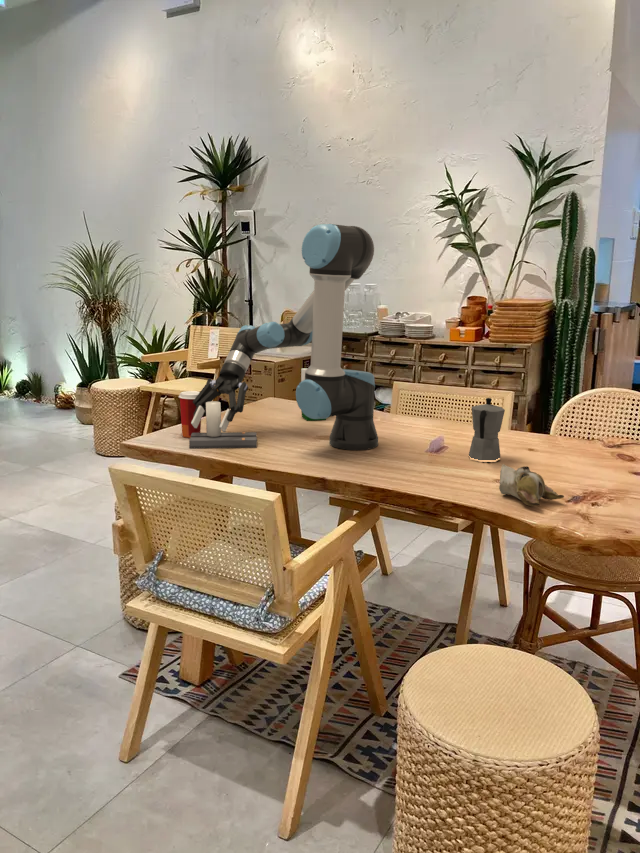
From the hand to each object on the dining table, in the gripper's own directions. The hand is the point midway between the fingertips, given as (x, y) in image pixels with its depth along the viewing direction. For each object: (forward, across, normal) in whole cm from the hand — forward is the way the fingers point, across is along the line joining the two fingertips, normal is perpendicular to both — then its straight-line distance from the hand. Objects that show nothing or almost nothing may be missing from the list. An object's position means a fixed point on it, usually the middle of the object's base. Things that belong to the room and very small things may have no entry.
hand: (207, 427), depth 203 cm
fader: (+2, 0, -6) cm, 7 cm away
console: (+1, -3, -7) cm, 8 cm away
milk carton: (-31, -12, -40) cm, 52 cm away
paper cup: (-2, +12, -10) cm, 16 cm away
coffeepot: (-13, -78, -21) cm, 82 cm away
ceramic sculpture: (+9, -94, 0) cm, 94 cm away
